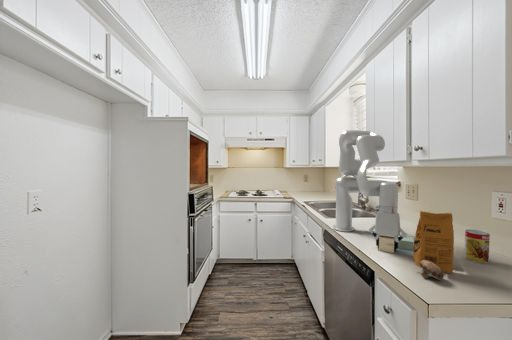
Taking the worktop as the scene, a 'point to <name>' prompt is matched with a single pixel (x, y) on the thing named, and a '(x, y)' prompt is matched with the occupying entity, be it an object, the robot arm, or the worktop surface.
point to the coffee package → (435, 240)
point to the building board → (402, 252)
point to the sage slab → (406, 243)
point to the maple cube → (386, 243)
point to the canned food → (477, 246)
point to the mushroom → (430, 270)
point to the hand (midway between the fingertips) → (386, 248)
